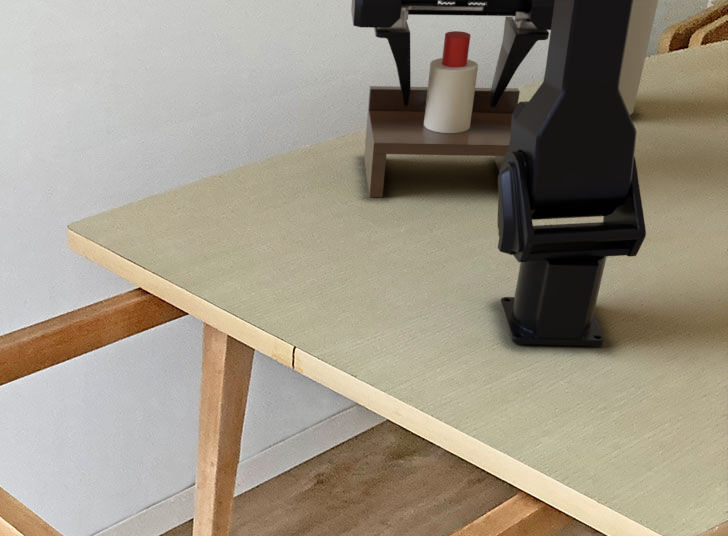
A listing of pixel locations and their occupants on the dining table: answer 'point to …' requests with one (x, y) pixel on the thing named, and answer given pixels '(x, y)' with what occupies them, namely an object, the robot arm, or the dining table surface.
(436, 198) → the dining table surface
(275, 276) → the dining table surface
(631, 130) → the robot arm
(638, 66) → the travel mug
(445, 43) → the seasoning bottle
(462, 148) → the spice rack
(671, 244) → the dining table surface
